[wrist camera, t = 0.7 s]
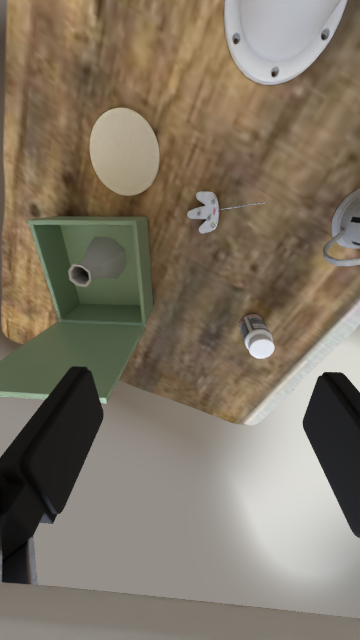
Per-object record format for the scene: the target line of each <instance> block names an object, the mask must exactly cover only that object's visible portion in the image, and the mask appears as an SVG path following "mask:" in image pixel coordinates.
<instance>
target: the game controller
mask: <svg viewBox="0 0 360 640" xmlns="http://www.w3.org/2000/svg"><path fill="white" fill-rule="evenodd" d="M196 198H197V200H199V201H200V202H202V203H203V204H205V206H201V207H198V208H195V209H193V210H190V211H188V213H187V216H188V217H189V218H192V219H206V221H205V222H204V223H203V224H202V225H201V226H200V227H199V232H200V233H202V234H203V233H207V232H211V231H213V230H215V229H216V227H217V225H218V222H219V210H223V209H219V203H218V199H217V197H216V195H215V194H214V193H213V192H198V193H197V195H196ZM264 203H267V202H264ZM257 204H263V203H257ZM250 205H256V204H250ZM243 206H249V205H243ZM238 207H242V206H238ZM232 208H237V207H232ZM224 209H231V208H224Z"/></svg>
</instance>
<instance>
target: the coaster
mask: <svg viewBox="0 0 360 640" xmlns="http://www.w3.org/2000/svg"><path fill="white" fill-rule="evenodd" d="M90 157H91V161H92V164H93V167H94V170H95V172H96V174H97V176H98V177H99V179H100V180H101V181H102V182H103V184H104V185H105V186H106V187H107V188H109V189H110V190H111V191H113V192H115V193H117V194H120V195H124V196H134V195H138V194H140V193H142V192H144V191H146V190H147V189H148V188H149V187H150V186H151V185H152V183H153V182H154V180H155V178H156V176H157V173H158V170H159V165H160V149H159V144H158V141H157V138H156V135H155V133H154V131H153V129H152V128H151V126H150V125H149V123H148V122H147V121H146V120H145V119H144V118H143V117H142V116H141V115H140V114H138V113H137V112H135V111H133V110H131V109H127V108H114V109H111V110H109V111H107V112H105V113H104V114H103V115H101V117H100V118H99V119H98V120H97V122H96V123H95V125H94V127H93V130H92V133H91V137H90Z"/></svg>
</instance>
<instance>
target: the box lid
mask: <svg viewBox="0 0 360 640" xmlns="http://www.w3.org/2000/svg"><path fill="white" fill-rule="evenodd" d="M144 330H145V325H126V324H102V323H77V322H57V323H55V324H54V325H52V326H51V327H49V328H48V329H46V330H45V331H43V332H42V333H40V334H39V335H37V336H36V337H34V338H33V339H32V340H30V341H29V342H27V343H26V344H24V345H23V346H21V347H20V348H18V349H17V350H15V351H14V352H12V353H11V354H9V355H8V356H6V357H5V358H4V359H2V360H1V361H0V396H3V397H18V398H33V399H46V398H47V397H48V396H49V394H50V393H51V392H52V390H53V389H54V388H55V387H56V385H57V384H58V383H59V381H60V380H61V379H62V378H63V376H64V375H65V374H66V372H67V371H68V370H69V369H70V368H71V367H72V366H81V367H87V368H88V370H90V371H91V372H92V375H93V378H94V382H95V385H96V389H97V392H98V396H99V399H100V402H101V403H107V402H108V400H109V398H110V396H111V394H112V392H113V390H114V388H115V386H116V385H117V383H118V381H119V379H120V377H121V375H122V373H123V371H124V369H125V367H126V365H127V363H128V361H129V359H130V357H131V355H132V354H133V352H134V350H135V348H136V346H137V344H138V342H139V340H140V338H141V336H142V334H143V332H144Z"/></svg>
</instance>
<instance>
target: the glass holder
mask: <svg viewBox="0 0 360 640" xmlns="http://www.w3.org/2000/svg"><path fill="white" fill-rule="evenodd" d="M331 231H332V236H333V238H332V239H331V240H330V241H329V242H328V243H327V244H326V245H325V246H324V248H323V257H324V258H325V260H326V261H327V262H329V263H331V264H333V265H336V266H354V265H359V264H360V258H356V259H350V260H338V259H335V258H332V257H331V256H329V255H328V254H327V250H328V249H329V248H330V247H331V246H332V245H333V244H334V243H335V242H337V243H338V244H339V245H341V246H343V247H346V248H359V249H360V188H359V189H357V190H355V191H354V192H352V193H351V194H350V195H349V196H347V197H346V198H345V199H344V200H343V201H342V203H341V204H340V205H339V207H338V208H337V210H336V212H335V214H334V216H333V219H332V224H331Z"/></svg>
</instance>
